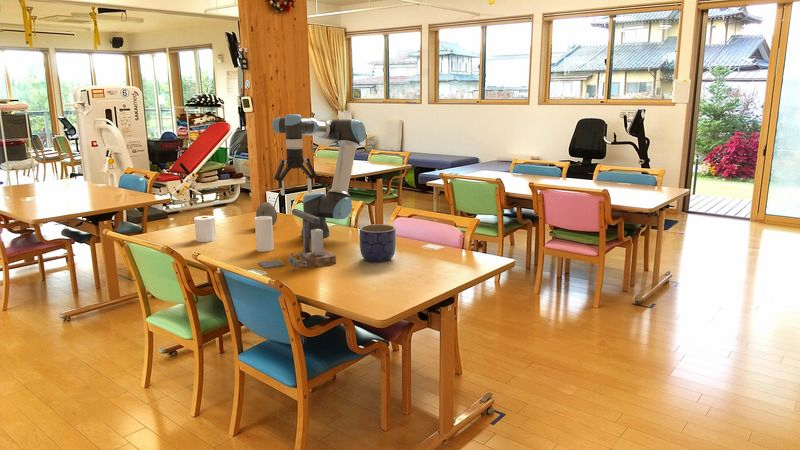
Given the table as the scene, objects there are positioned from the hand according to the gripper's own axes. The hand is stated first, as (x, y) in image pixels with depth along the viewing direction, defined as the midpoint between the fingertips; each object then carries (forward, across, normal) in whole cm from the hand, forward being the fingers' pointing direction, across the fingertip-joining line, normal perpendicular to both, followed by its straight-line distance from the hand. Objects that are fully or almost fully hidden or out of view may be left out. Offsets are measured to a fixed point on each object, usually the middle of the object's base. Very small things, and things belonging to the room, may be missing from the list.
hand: (296, 193), depth 266 cm
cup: (+29, +12, -14) cm, 34 cm away
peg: (+29, -1, +20) cm, 35 cm away
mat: (+29, +18, +12) cm, 36 cm away
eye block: (+29, -1, +20) cm, 35 cm away
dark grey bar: (+12, -1, +8) cm, 14 cm away
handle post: (+29, 0, +8) cm, 30 cm away
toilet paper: (+29, +31, -50) cm, 66 cm away
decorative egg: (+29, -6, -61) cm, 67 cm away
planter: (+29, -26, +31) cm, 50 cm away
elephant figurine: (+29, +11, +23) cm, 39 cm away
